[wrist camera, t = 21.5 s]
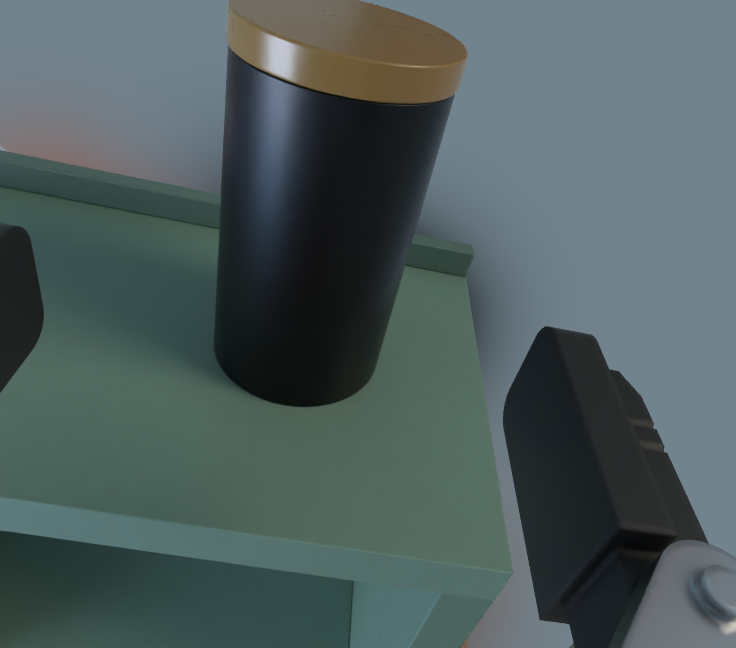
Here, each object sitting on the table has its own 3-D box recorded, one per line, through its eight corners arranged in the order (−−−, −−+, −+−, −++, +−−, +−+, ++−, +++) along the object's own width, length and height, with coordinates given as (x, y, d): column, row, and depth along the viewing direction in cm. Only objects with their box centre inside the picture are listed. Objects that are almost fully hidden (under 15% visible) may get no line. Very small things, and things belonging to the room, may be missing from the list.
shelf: (-123, 731, 25) (-448, 399, 12) (37, 464, 36) (-42, 140, 23) (363, 785, 27) (531, 548, 14) (373, 515, 38) (473, 244, 25)
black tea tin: (190, 391, 17) (196, 20, 11) (233, 284, 21) (255, -25, 15) (374, 423, 18) (480, 86, 11) (380, 312, 22) (459, 23, 16)
